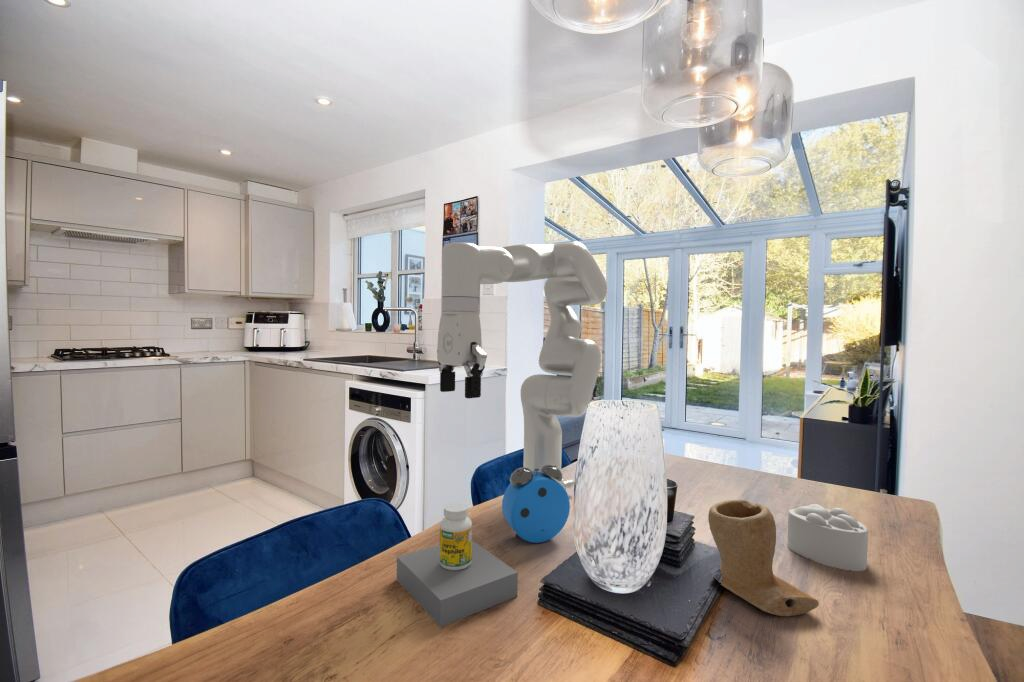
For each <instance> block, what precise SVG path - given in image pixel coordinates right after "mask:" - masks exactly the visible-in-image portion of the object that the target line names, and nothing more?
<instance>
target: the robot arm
mask: <svg viewBox="0 0 1024 682" xmlns="http://www.w3.org/2000/svg"><path fill="white" fill-rule="evenodd" d="M545 279H546V281H545V282H544V297H545V300H546V303H547V307H548V311H549V315H550V322H549V326H548V330H547V333H546V335H545V337H544V341H543V343H542V346H541V350H540V353H539V357H538V364H539V368H540V369H541V370H542V371H543V372H545V373H547V374H533V375H530V376H528V377H527V378H525V379H524V380H523V382H522V384H521V387H520V400H521V407H522V414H523V464H522V465H523V467H525V468H528V469H530V470H531V471H534V469H539V470H538V472H541V471H540V470H541V468H542V467H543V466H545V465H553V466H555V465H556V467H557V468H558V469H559V470H560V471H561V472H562V449H563V445H562V444H563V443H562V441H563V431H562V426H561V423H560V421H559V419H558V417H557V416H561V417H568V418H569V417H570V418H579V417H581V416H583V415H584V414H585V413H586V412H587V411H588V409H587V406H588V404H589V405H590V403H591V400H592V396H593V393H594V391H595V386H596V383H597V379H598V375H599V373H600V368H601V363H602V362H601V361H602V356H601V350H600V347H599V345H598V344H597V343H596V342H595V341H593V340H591V339H587V338H580V336H581V333H582V322H581V321H580V318H579V317H578V315H577V314H576V313H575V311H574V309H573V307H572V306H593V305H599V304H601V303H602V302H603V301H604V300H605V299H606V296H607V293H608V292H607V291H608V286H607V281H606V278H605V275H604V274H603V272H602V270H601V269H600V267H599V265H598V263H597V261H596V259H595V258H594V256H593V254H592V253H591V252H590V251H589V249H588V248H587V247H586V246H585V245H584V244H583V243H581V242H579V241H569V242H566V241H565V242H554V243H537V244H536V243H531V244H528V243H527V244H526V243H523V244H514V245H508V246H502V247H499V246H480V245H477V244H475V243H471V242H467V241H466V242H465V241H464V242H463V241H462V242H461V241H455V242H454V241H453V242H449V243H446V244H444V246H443V247H442V249H441V290H440V291H441V298H440V299H441V300H440V301H441V302H440V303H441V305H440V306H441V307H440V308H441V309H440V311H441V312H440V318H439V324H438V334H437V346H436V347H437V348H436V359H437V363H438V365H439V368H438V371H439V372H440V373H439V376H440V377H439V390H440V392H441V393H446V392H455V390H456V371H454V369H455V367H461V366H463V369H464V371H465V373H466V376H465V377H464V397H465V399H476V398H480V397H481V395H482V377H483V375H484V370H485V369H486V368H485V367H486V361H487V358H488V355H487V353H486V352H485V351H484V350H483V349H482V347H483V345H482V327H481V318H480V315H481V285H494V284H495V285H496V284H498V285H499V284H502V283H521V282H522V283H523V282H532V281H537V280H545ZM588 407H589V406H588ZM542 473H543V472H542ZM551 478H552V477H551ZM552 479H554V478H552ZM554 480H555V481H557V482H558V483H560V484H561V485H562V486H563V487H564V489H565V490H566V491H567V489H571V488H573V485H574V483H575V481H574V479H568V480H564V478H563V479H562V481H558V480H556V479H554ZM574 486H575V485H574Z"/></svg>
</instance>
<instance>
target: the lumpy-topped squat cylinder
mask: <svg viewBox="0 0 1024 682" xmlns="http://www.w3.org/2000/svg"><path fill="white" fill-rule="evenodd" d="M787 515H788V516H787V517H788V518H787V542H786V545H787V548H788V549H790V550H791V551H792V552H794V553H796V554H798V555H800V556H802V557H804V558H806V559H808V558H809V559H808V560H810V559H811V561H813V560H814V561H813V562H815V561H816V563H817V562H818V563H817V564H820V563H821V564H820V565H823V566H826V565H827V566H826V567H830V568H834V567H835V568H834V569H838V568H839V570H843V569H844V571H849V570H851V571H852V572H863V571H866V570H867V569H868V567H867V566H868V546H869V545H868V544H869V530H868V528H867V526H866V525H865V524H864V523H863V522H860V520H857V519H856V518H855V517H853V516H851V514H850V513H849V512H848V511H847V510H846V509H844V508H841V507H833V508H831V509H828V508H826V507H824V506H822V505H820V504H817V503H811V504H809V505H801V506H799V507H797V508H792V509H789V510H788V514H787ZM851 571H850V572H851Z"/></svg>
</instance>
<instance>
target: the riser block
mask: <svg viewBox="0 0 1024 682" xmlns="http://www.w3.org/2000/svg"><path fill="white" fill-rule="evenodd" d="M518 574H519V573H518V571H517V570H516V569H513V568H512V566H510V565H508V564H507V563H505V562H504V561H502V560H501V559H500V558H498V557H497V556H496V555H494V554H492V553H491V552H490V551H488V550H487V549H485V548H484V547H483V546H481V545H480V544H478V543H477V542H475V541H474V540H473V539H472V562H471V564H470V565H469V566H468V567H467V568H465V569H461V570H455V571H453V570H448V569H445V568H443V567H442V566H441V564H440V543H439V544H436V545H435V544H434V545H433V546H430V547H426V548H422V549H419V550H415V551H412V552H409V553H405V554H402V555H397V556H396V581H398V582H399V584H400V585H401V586H402V587H403V588H404V589H405V590H406V591H407V593H409V595H410V596H411V597H412V598H413V599H414V600H415V601H416V602H417V603H418V605H419V606H420V607H422V609H423V610H424V611H425V612H426V613H427V614H428V616H430V617H431V618H432V620H433V619H434V620H433V621H434V622H435V621H436V622H435V623H436V624H437V625H438V626H439V627H440V628H442V627H445V626H447V625H450V624H452V623H454V622H457V621H460V620H463V619H465V618H467V617H469V616H472V615H474V614H477V613H479V612H483V611H485V610H486V609H489V608H492V607H494V606H497V605H499V604H500V605H501V604H502V603H504V602H507V601H510V600H512V599H513V598H517V597H518V587H519V586H518V583H519V581H518V579H519V575H518Z"/></svg>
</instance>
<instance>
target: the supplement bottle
mask: <svg viewBox="0 0 1024 682" xmlns="http://www.w3.org/2000/svg"><path fill="white" fill-rule="evenodd" d="M468 515H469V507H468V505H467V504H465V503H461V502H452V503H448V504H446V505H444V507H443V516H444V517H443V518H442V519H441V521H440V523H439V544H440V564H441V566H442V567H443V568H445V569H448V570H453V571H455V570H461V569H465V568H467V567H468V566H469V565H470V564H471V562H472V540H473V522H472V520H471V518H470V517H469V516H468Z"/></svg>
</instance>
